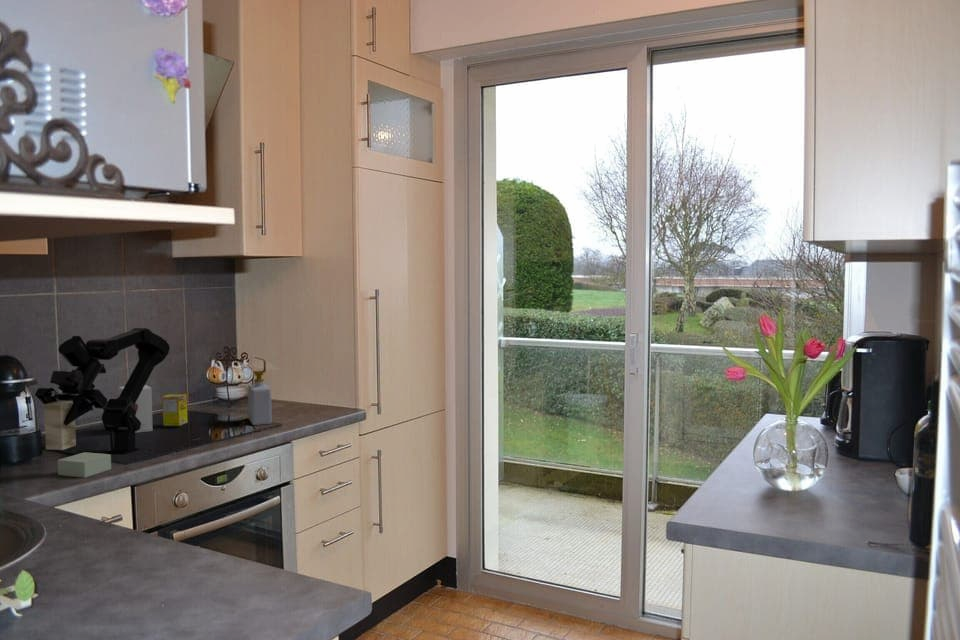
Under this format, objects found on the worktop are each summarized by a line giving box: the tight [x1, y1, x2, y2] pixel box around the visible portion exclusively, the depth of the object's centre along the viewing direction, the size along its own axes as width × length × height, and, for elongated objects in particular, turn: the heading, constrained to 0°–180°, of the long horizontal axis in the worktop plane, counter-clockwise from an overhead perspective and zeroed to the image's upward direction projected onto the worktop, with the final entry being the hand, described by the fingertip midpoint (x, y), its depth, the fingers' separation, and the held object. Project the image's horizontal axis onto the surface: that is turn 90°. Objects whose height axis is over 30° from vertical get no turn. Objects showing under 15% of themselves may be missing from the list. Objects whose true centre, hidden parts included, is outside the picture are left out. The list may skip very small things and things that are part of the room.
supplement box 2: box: [117, 384, 153, 434], centre depth 256 cm, size 9×9×15 cm
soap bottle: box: [247, 356, 273, 426], centre depth 270 cm, size 12×7×23 cm, turn 24°
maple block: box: [43, 401, 77, 451], centre depth 202 cm, size 5×5×12 cm
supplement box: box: [162, 393, 189, 429], centre depth 263 cm, size 6×6×11 cm
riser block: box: [57, 451, 112, 478], centre depth 204 cm, size 9×9×4 cm
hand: (56, 423), depth 201 cm, fingers closed on maple block, 5 cm apart
